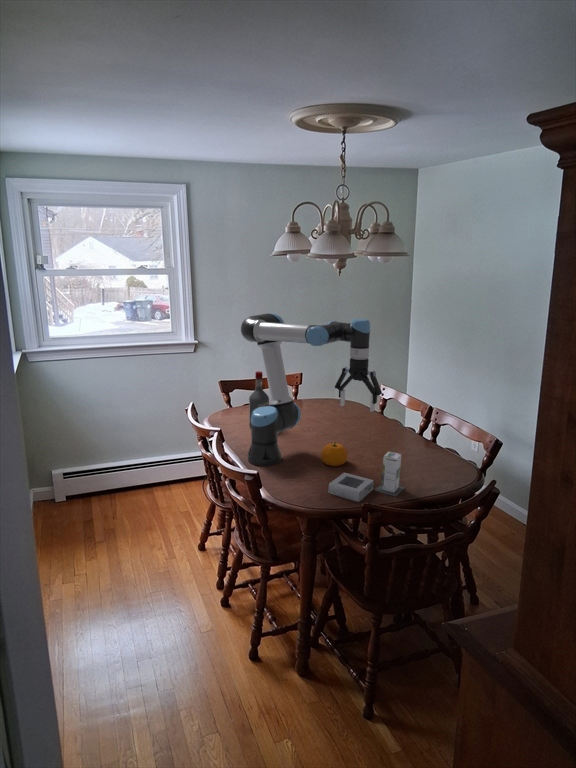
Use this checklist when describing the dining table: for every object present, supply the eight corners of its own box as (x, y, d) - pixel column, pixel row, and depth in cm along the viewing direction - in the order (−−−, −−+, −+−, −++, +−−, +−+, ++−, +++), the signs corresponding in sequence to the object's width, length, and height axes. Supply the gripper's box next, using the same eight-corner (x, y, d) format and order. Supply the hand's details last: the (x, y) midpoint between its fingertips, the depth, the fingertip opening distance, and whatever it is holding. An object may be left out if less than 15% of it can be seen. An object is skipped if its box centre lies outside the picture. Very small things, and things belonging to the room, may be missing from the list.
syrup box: (385, 484, 213) (387, 450, 209) (399, 487, 210) (401, 453, 206) (380, 490, 208) (382, 455, 204) (395, 493, 205) (397, 458, 202)
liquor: (247, 427, 279) (246, 372, 272) (257, 423, 286) (257, 369, 279) (261, 431, 274) (260, 375, 267) (271, 426, 282) (271, 371, 274)
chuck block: (328, 493, 206) (328, 483, 205) (343, 481, 216) (344, 472, 215) (358, 502, 199) (359, 492, 198) (373, 489, 209) (373, 480, 208)
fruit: (325, 456, 242) (326, 436, 239) (350, 460, 238) (351, 439, 235) (317, 465, 231) (317, 444, 229) (342, 470, 227) (343, 448, 225)
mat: (374, 491, 208) (374, 490, 208) (383, 482, 215) (383, 481, 215) (395, 496, 203) (395, 495, 203) (404, 488, 210) (404, 487, 210)
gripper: (327, 355, 216) (326, 405, 221) (384, 363, 203) (381, 415, 208) (336, 352, 222) (334, 401, 227) (391, 359, 209) (388, 411, 214)
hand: (357, 408), depth 218 cm, fingers open, 13 cm apart
